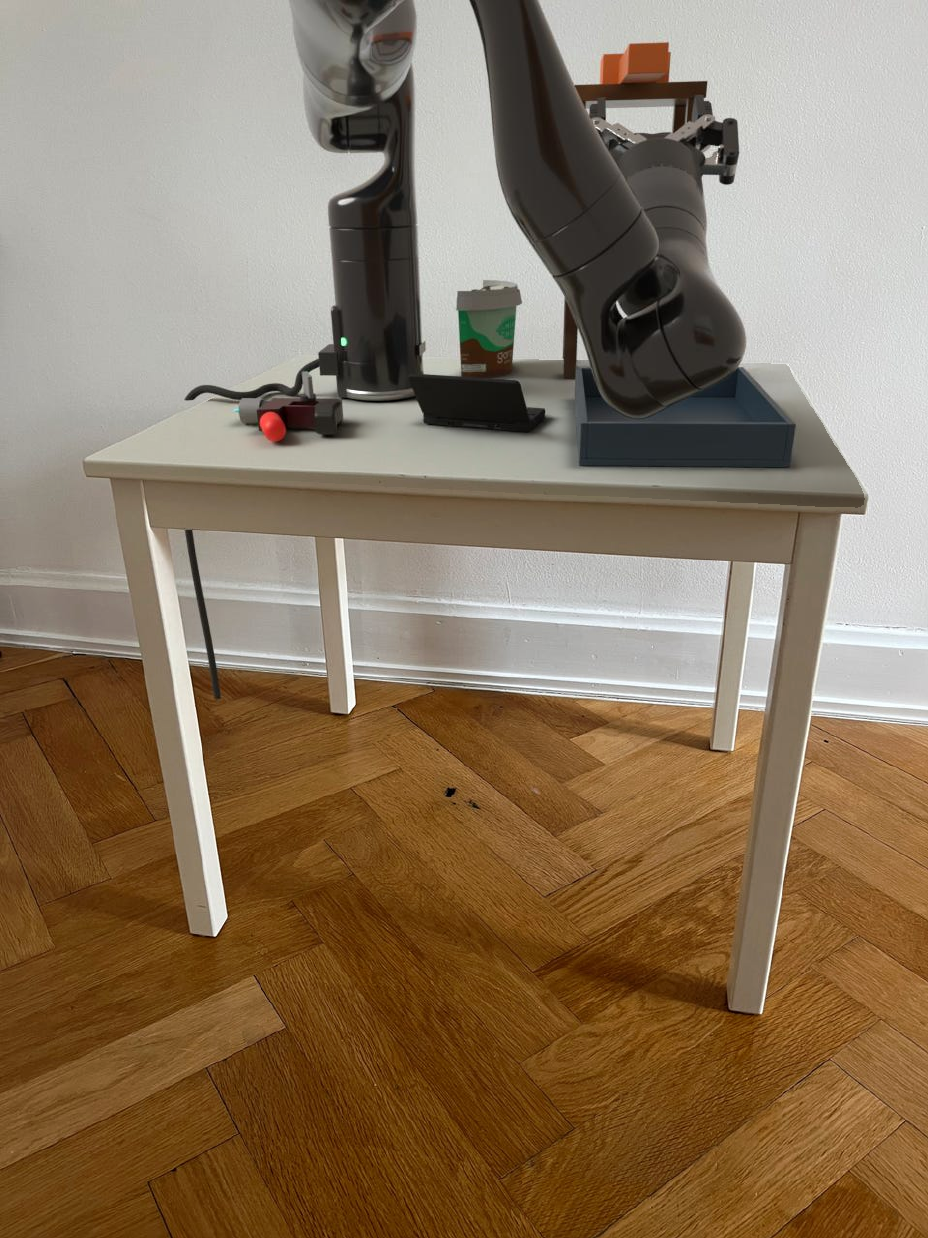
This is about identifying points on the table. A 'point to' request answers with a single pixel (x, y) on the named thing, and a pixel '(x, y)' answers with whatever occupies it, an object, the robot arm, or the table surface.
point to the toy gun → (292, 412)
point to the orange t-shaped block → (637, 64)
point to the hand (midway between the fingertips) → (648, 106)
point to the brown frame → (628, 98)
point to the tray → (686, 428)
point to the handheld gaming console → (474, 402)
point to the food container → (487, 328)
